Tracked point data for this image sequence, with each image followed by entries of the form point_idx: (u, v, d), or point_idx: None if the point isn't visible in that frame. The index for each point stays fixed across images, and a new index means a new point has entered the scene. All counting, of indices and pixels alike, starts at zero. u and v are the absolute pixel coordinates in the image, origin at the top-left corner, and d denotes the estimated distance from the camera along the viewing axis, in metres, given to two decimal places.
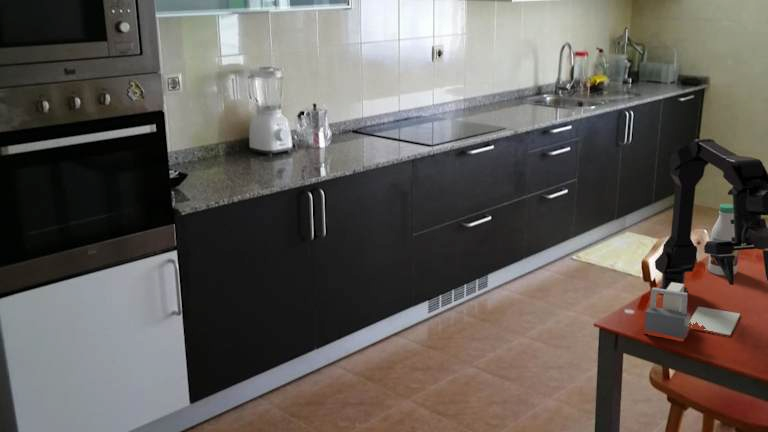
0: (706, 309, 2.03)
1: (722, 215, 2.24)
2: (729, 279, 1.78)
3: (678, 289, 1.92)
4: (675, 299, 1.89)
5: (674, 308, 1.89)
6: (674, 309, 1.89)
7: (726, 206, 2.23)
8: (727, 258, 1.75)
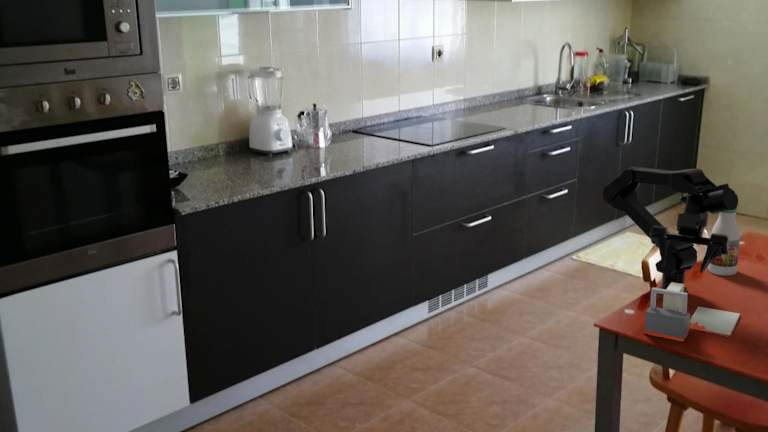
0: (706, 309, 2.03)
1: (722, 215, 2.24)
2: None
3: (678, 289, 1.92)
4: (675, 299, 1.89)
5: (674, 308, 1.89)
6: (674, 309, 1.89)
7: None
8: (657, 237, 2.02)
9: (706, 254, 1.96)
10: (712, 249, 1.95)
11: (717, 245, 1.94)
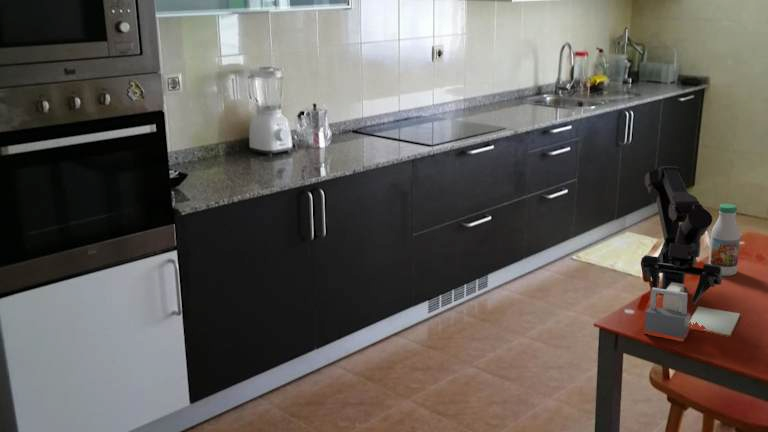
0: (706, 309, 2.03)
1: (722, 215, 2.24)
2: None
3: (678, 289, 1.92)
4: (675, 299, 1.89)
5: (674, 308, 1.89)
6: (674, 309, 1.89)
7: (726, 206, 2.23)
8: (649, 267, 1.97)
9: (699, 285, 1.91)
10: (705, 280, 1.91)
11: (710, 276, 1.90)
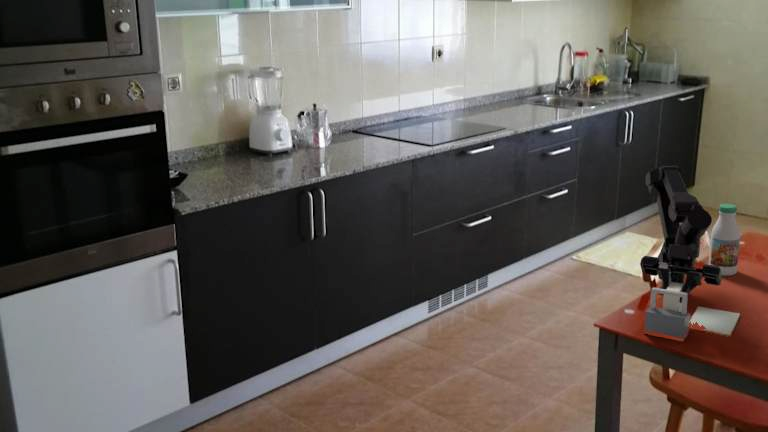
0: (706, 309, 2.03)
1: (722, 215, 2.24)
2: None
3: (678, 289, 1.92)
4: (675, 299, 1.89)
5: (674, 308, 1.89)
6: (674, 309, 1.89)
7: (726, 206, 2.23)
8: (660, 270, 1.96)
9: (685, 284, 1.93)
10: (691, 278, 1.92)
11: (696, 274, 1.91)
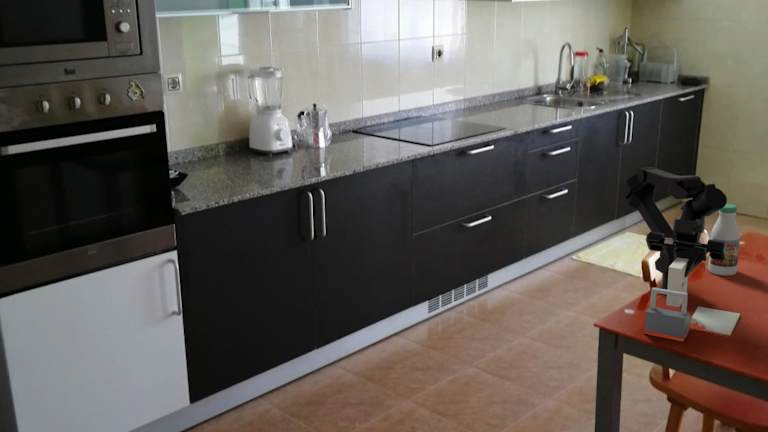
0: (706, 309, 2.03)
1: (722, 215, 2.24)
2: None
3: (683, 264, 1.94)
4: (680, 273, 1.91)
5: (679, 282, 1.92)
6: (679, 283, 1.92)
7: (726, 206, 2.23)
8: (666, 245, 1.98)
9: (690, 258, 1.95)
10: (696, 253, 1.95)
11: (701, 249, 1.94)
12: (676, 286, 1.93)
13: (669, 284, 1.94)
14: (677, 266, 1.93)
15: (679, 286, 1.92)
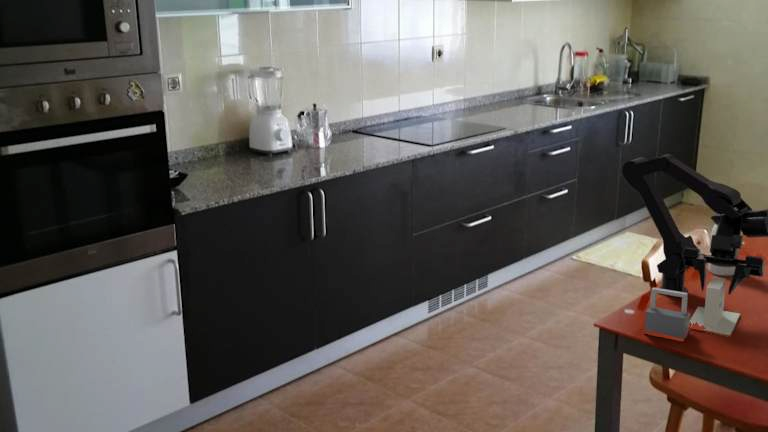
0: None
1: None
2: (701, 284, 1.96)
3: (720, 283, 1.92)
4: (718, 293, 1.90)
5: (717, 302, 1.90)
6: (717, 303, 1.90)
7: None
8: (696, 260, 1.97)
9: (734, 276, 1.92)
10: (740, 270, 1.92)
11: (745, 266, 1.91)
12: (714, 306, 1.91)
13: (707, 304, 1.92)
14: (715, 286, 1.91)
15: (717, 306, 1.90)
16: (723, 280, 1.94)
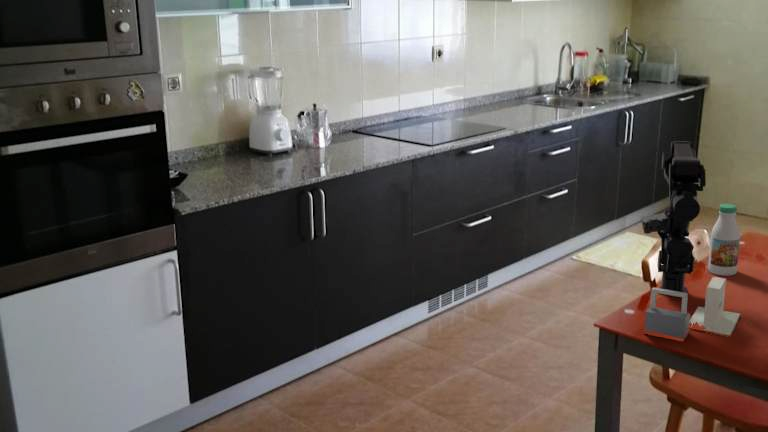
0: None
1: (722, 215, 2.24)
2: None
3: (720, 283, 1.92)
4: (718, 293, 1.90)
5: (717, 302, 1.90)
6: (717, 303, 1.90)
7: (726, 206, 2.23)
8: (657, 232, 2.06)
9: None
10: (667, 252, 1.93)
11: (665, 250, 1.92)
12: (714, 306, 1.91)
13: (707, 304, 1.92)
14: (715, 286, 1.91)
15: (717, 306, 1.90)
16: (723, 280, 1.94)
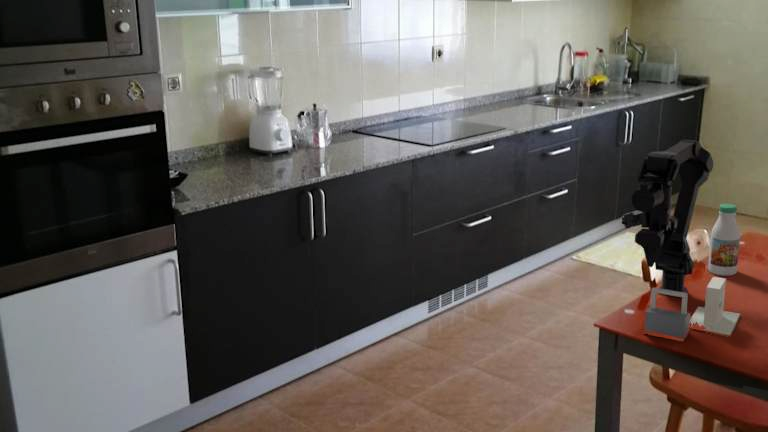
0: None
1: (722, 215, 2.24)
2: None
3: (721, 283, 1.92)
4: (718, 293, 1.90)
5: (717, 302, 1.90)
6: (717, 303, 1.90)
7: (726, 206, 2.23)
8: None
9: None
10: None
11: None
12: (714, 306, 1.91)
13: (707, 304, 1.92)
14: (715, 286, 1.91)
15: (717, 306, 1.90)
16: (723, 280, 1.94)
